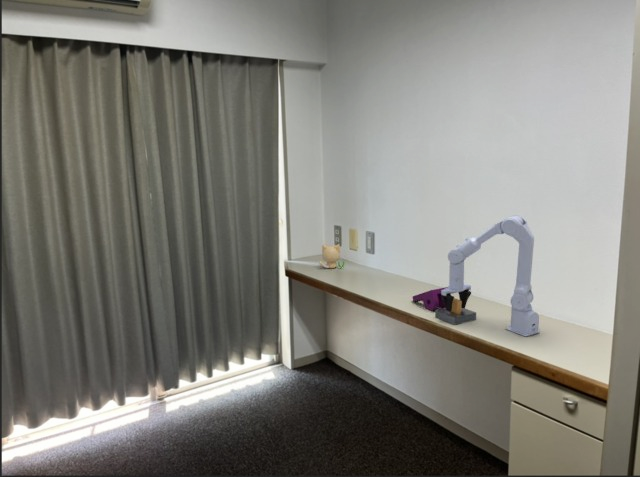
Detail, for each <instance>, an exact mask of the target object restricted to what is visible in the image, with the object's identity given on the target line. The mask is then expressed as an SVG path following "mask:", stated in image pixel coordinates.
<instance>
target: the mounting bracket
mask: <svg viewBox="0 0 640 477" xmlns="http://www.w3.org/2000/svg"><path fill="white" fill-rule="evenodd" d="M446 288H448V286H447V287H442V288H435V289H431V290H427V291H424V292H422V293H418V294H415V295H413V296H412V300H413V302H418V301H421V300H422V303H423V306H424V308H425V309H426V310H427V311H435V310H438V309H439V308H440V309H443V308H446V306H445V302H444V300H443V298H442V296H441V290H444V289H446Z"/></svg>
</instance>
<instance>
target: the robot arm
mask: <svg viewBox="0 0 640 477" xmlns="http://www.w3.org/2000/svg"><path fill="white" fill-rule="evenodd" d="M504 234H505V235H507V236H510V237H512V238H513V239H514V240H515V241H516V242H517V243H518V244H519V245H518V253H517V254H518V256H517V267H516V279H515V281H516V282H515V286H514V290H513V293H512V294H513V295H512V296H511V298H510V305H511V307H510V308H511V310H510V312H511V313H510V325H509V326H507V327H505V330H506V331H507V330H508V331H510V332H513V333H515V334H518V335H520V336H523V337H529V336H532V335H537V334H539V333H540V331H539V323H540V322H539V321H540V315H539V314H538V312H536V311H534V310H533V306H532V304H531V303H532V302H533V301H534V293H533V291H532V289H533V288H532V287H533V286H532V284H531V282H532V271H533V270H532V268H533V258H534V257H533V256H534V246H535V245H534V244H535V236H534V234H533V232H532V231H531V229H530V227H529V225H528V222H527V220H525V219H524V218H523V217H522V216H520V215H516V214H514V215H511V216H510V217H508V218H505V219H503V220H501V221H499V222H497V223H494V224H493V225H492V226H490V227H489V228H487V229H486V230H485V231H484V232H482V233H481V234H479V235H478V236H477V237H467V238H465V241H464V242H462V243H461V244H457V245H456V246H455V247H456V248H453V249H451V250H450V251H449V252H448V254H447V259H448V261H449V274H448V277H449V278H448V285H447V287H448V288H446V289H444V290H441V296H442V298H443V300H444V302H445V306H446V310H447V311H449V312H451V311H452V303H453V299H454V298H455V296H453V295H452V294H456V293H458V297H459V300H461V301H462V306H461V308H465V309H466V306H467V303H468V300H469V298H470V297H471V295H472V291H471V290H472V286H471V285H469V284H465V282H464V280H465V275H464V274H465V261H466V259H467V258H469V257H470V256H472V255H473V254H475V253H476V252H478V251H479V250H481V247H482V245H483V243H486V242H487V241H488V240H490V239H491V238H493V237H495V236H497V235H504Z"/></svg>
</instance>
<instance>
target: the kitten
mask: <svg viewBox="0 0 640 477" xmlns="http://www.w3.org/2000/svg"><path fill="white" fill-rule="evenodd" d="M340 246H341V245H340V244H339V243H338V244H336V245H334V246H333V245H330V246H329V245H326V244H322V245H321V247H322V249H321V250H322V251H321V253H322V254H321V255H322V260H323V261H325V262H326V264H324V263H323V261H321V260H320V261H319V264H318V265H320V266H321V267H323V268H326V269H335V267H336V268H337V265H338V267H339V268H340V267H341V268H342V267H343V268H344V266H345V260H342V262H343V263H342V264H340V262H339V261H340V259H341V247H340ZM337 263H338V264H337ZM341 268H340V269H341ZM343 268H342V269H343Z"/></svg>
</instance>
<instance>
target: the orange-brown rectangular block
mask: <svg viewBox="0 0 640 477" xmlns="http://www.w3.org/2000/svg"><path fill="white" fill-rule="evenodd" d="M461 306H462V301H461V300H460V299H458V298H455V297H454V299H453V303H452V311H451V312H453V313H455V314H460V313H461Z"/></svg>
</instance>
